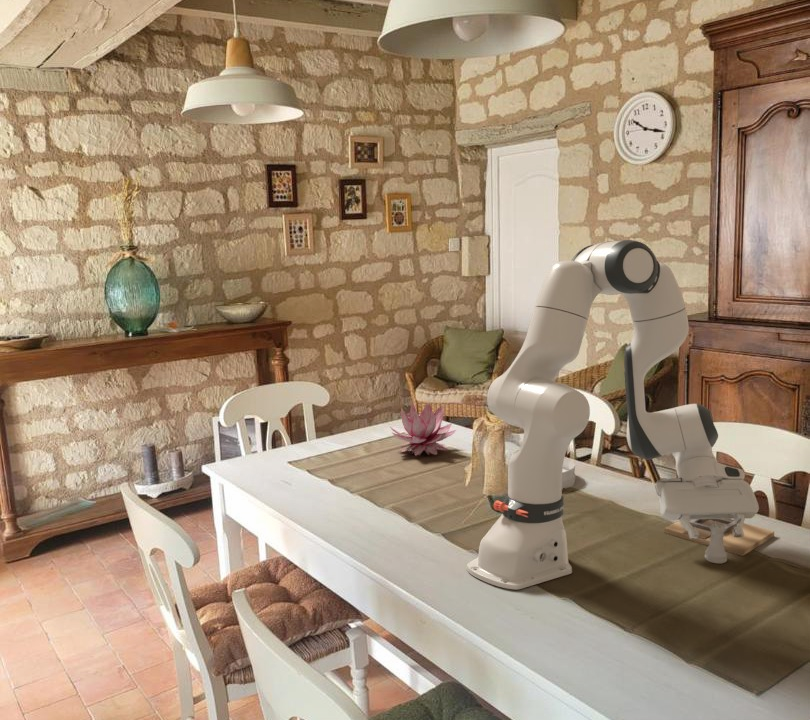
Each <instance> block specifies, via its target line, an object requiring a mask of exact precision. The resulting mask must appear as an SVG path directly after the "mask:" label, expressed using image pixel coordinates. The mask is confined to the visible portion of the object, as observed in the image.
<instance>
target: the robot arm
mask: <svg viewBox="0 0 810 720" xmlns="http://www.w3.org/2000/svg"><path fill="white" fill-rule="evenodd" d="M598 295H607V296H616V295H622V296H623V298H624V299H625V300H626V302H627V304H628V306H629V311H630V316H631V320H632V325H633V332H632V333H633V334H632V338H631V341H630V342H629V343H628V344H627V345H626V346H625V348H624V354H623V360H624V361H623V365H624V372H623V373H624V387H625V402H626V409H627V410H626V411H627V423H626V441H627V444H628V447H629V449H630V451H631V452H632V454H633V455H635V456H636V457H638V458H641V459H642V460H645V461H650V460H653V459H657V458H661V457H663V456H666V455H671V454H672V455H673V457H674V460H675V469H676V474H677V477H669V478H666V477H662V478H660V479H659V480H656V482H655V483H654V484H655V485H654V488H655V492H656V494H657V496H658V499H659V502H658V503H659V504H658V505H659V510H660V515H661V516H662V518H663V519H664V520H666V521H672V520H673V521H674V520H675V521H680V524H681V525H682V526H683V527H684V528H685V529H686V530H687V531H688V534H689V537H690V538H698V537H699V533H698V529H697V528H693V526H692V525H691V524H690V523H689V522H688V521H689V520H691V519H733V520H734V521H735V523H737V522H738V524H737V527H735V528H734V529H733V530H732V532H733V534H734V537H743V536H744V532H743V529H742V527H743V523H745V519H752V518H754V517H755V516H756V514H757V513H758V512H759V509H760V507H759V506H760V505H759V503H758V499H757V498H756V495H755V492H754V490H753V488H752V487H751V485H750V484H749V482H747V481H746V480H744V479H745V476H746V475H745V471H744V470H743V469H740V468H738V467H733V466H729V465H726V464H724V463H720V462H718V460H717V458H716V456H715V455H714V453H713V447H714V446H715V444H716V442H717V440H718V438H719V433H718V430H717V428H716V425H715V423H714V420H713V415H712V411H711V410H710V409H708V408H707V407H706V406H704V405H702V404H700V403H689V404H684V405H679V406H676V407H675V406H674V407H671V408H668V409H667V408H666V409H663V410H659V411H653V412H649V411H647V410H646V399H645V395H646V394H645V384H644V381H645V377H646V376H647V374H648V372H649V371H650V370H651V369H652V368H653V367H654V366H655V365H657V364H658V363H660V362H661V361H663V360H664V359H666V358H668V357H669V356H671V355H672V354H673V353H675V352H676V351H677V350H678V349H679V348H680V347H682V345H683V344H684V342H685V341H686V339H687V337H688V336H689V335H688V334H689V330H690V325H689V319H688V313H687V309H686V304H685V301H684V298H683V294H682V292H681V289H680V286H679V284H678V282H677V279H676V276H675V275H674V273H673V271H672V269H671V268H670V266H669V265H667V264H665V263H663V262H659V261H658V260H657V256H656V255H655V254H654V252H653V251H652V249H651V248H649V246H647V244H646V243H644V242H641V241H638V240H632V239H624V240H617V241H612V240H607V241H602V242H599V243H596V244H591V245H587V246H586V247H583V248H582V249H580V250H579V251H578V252H577V253H576V254H575V255H574V256H573V258H572V259H571V260H570V259H568V260H561V261H558V262H556V263H554V264H553V265H552V266H551V267H550V268H549V270H548V272H547V274H546V276H545V278H544V281H543V283H542V285H541V288H540V290H539V293H538V296H537V299H536V302H535V304H534V305H535V306H534V309H533V313H532V317H531V319H530V323H529V326H528V329H527V332H526V336H525V338H524V341H523V344H522V345H521V348H520V350H519V352H518V353H517V355H516V357H515V358H514V360H513V361H512V363H511V364H510V366H509V367H508V368H507V369H506V371H504V372H503V373H502V374H501V375H500V376H497V377H496V378H495V379H494V380H493V381H492V382H491V384H490V385H489V387H488V390H487V396H486V403H487V406H488V409H489V410H490V411H491V413H492V414H493V415H494V416H495V417H497V418H498V419H500V420H501V421H503V422H504V423H506V424H508V425H510V426H514V427H517V428H521V429H523V438H522V443H521V445H520V448H519V449H518V450H516V451H514V452H513V453H512V454H510V455H511V457H510V458H509V462H508V486H507V493H506V494H505V498H504V501H503V502H502V501H500V500H498V499H496V500H495V501H494V503H493V505H492V507H493V509H494V510H495V511H498V512H501V515H500V516H499V518H497V520H496V521H495V522H494V524H493V525H492V526H491V528H489V530H488V532H487V533H486V534H485V535H484V536H483V538H482V539H481V540H480V543H479V547H478V555H477V557H476V558H474V559H473V560H471V561H469V562H467V564H466V570H467V572H468V573H469V574H470V575H471V576H473V577H475V578H476V579H479V580H481V581H482V582H485V583H487V584H489V585H493V586H496V587H499V588H503V589H508V590H515V591H516V590H522V589H525V588H527V587H532V586H534V585H538V584H541V583H544V582H548V581H551V580H554V579H557V578H561V577H564V576H565V577H566V576H568V575H570V574H572V573H573V567H572V565H571V564H570V562H569V555H568V554H569V553H568V541H567V532H566V528H565V526H564V523H563V517H562V516H564V511H565V510H564V509H565V503H564V496H563V494H562V491H563V489H562V472H563V462H564V458H566V453H567V451H568V449H569V447H570V445H571V443H572V441H573V440H574V439H575V438H577V437H578V436H579V435H580V434H582V433H583V431H584V430H585V429H586V427H587V426H588V424H589V421H590V415H591V409H590V404H589V401H588V399H587V397H586V395H584V394H583V393H582V392H580V391H579V390H577V389H575V388H573V387H572V386H570V385H568V384H566V383H562V382H557V381H555V379H556V378H557V376H558V374H559V373H560V372H561V370H562V369H563V368H564V367H566V365H568V364H569V363H571V362H573V361H574V360H576V359H577V357H578V356H579V354H580V350H581V347H582V346H581V345H582V343H583V339H584V336H585V333H586V332H585V331H586V328H587V325H588V321H589V317H590V313H591V308H592V305H593V302H594V301H595V300H596V298H597V296H598Z"/></svg>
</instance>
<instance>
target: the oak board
mask: <svg viewBox="0 0 810 720" xmlns="http://www.w3.org/2000/svg"><path fill="white" fill-rule="evenodd" d="M714 521H715V524H717V522H720V523H719V524H721V523H723V524H724V527H725V528H726V530H725V531H724V532H723V534H724V537H723V545H724V549H725V552H726V553H727V552H728V553H732V554H735V555H738V556H741V557H744V556H745V555H747V554H749V553H750V552H751V551H753V550H754V549H757V547H758V548H759V546H761V545H762V544H764V543H767V542H768V541H770V540H771V539H772V538H774V537H775V530H771V529H766V528H763V527H759V526H755V525H751V524H749V523H745V522H744V523H743V527H742V529H743V532H744V536H743V537H734V534H733V532H732V530H733V529H734V528H735V527H737V524H738V522H737V523H735V521H734V519H691V520H689V521H688V522H689V523H690V524H691V525H692V526H693V528H697V529H698V533H699V537H698V538H690V537H689V534H688V531H687V530H686V529H685V528H684V527H683V526H682V525H681V524H680V520H677V521H676V522H674V523H671V524H670V525H668V526H666V527H664V532H663V533H665V534H666V535H669V536H670V535H671V536H674V537H677V538H681V539H683V540H687V541H690V542H694V543H697V544H700V545H703V546H704V545H705V546H707V547H708V546H709V544H710V539H711V535H710V533H711V530H710V528H709V526H710V525H711V522H712V523H713V522H714Z"/></svg>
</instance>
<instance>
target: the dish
mask: <svg viewBox="0 0 810 720" xmlns="http://www.w3.org/2000/svg"><path fill="white" fill-rule="evenodd" d="M575 469H576V465H575V463H574V462H573V461H572V460H571V459H569V458H567V457H564V462H563V472H562V488H565V489H568V488H571V487H572V486H574V485H575V483H576V473H575V472H576V471H575Z"/></svg>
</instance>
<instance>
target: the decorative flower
mask: <svg viewBox="0 0 810 720" xmlns="http://www.w3.org/2000/svg"><path fill="white" fill-rule="evenodd" d="M426 404H427V405H425V406H424V408H423V410H422V412H421V413H420V414H419V413H418V412H417V410H416V407H415V405H414V402H413V403H411V406H410V409H409V415H407V414H406V412H405V411H404V409H403V406H401V415H400V416H401V421H402V426H403V428H404V430H405V431H406V433H407V434H408V435H409V436H408V435H406V434H403V433H401V432H399V431H397V430H396V429H394V428H393V427H391V426H390V425H389V428H390V429H391V430H392V432H391V433H392V435H393V436H394V437H396V438H397V439H399V440H400V441H401V440H402V441H404V442H405V441H406V442H408V443H409V444H407V445H406V444H405V445H402V446H398V448H405V449H403V450H400V451H399V453H406V452H408V451H410V452H411V451H412V452H411V453H410V455H412V454H413V453H414V455H415V456H421V455H422V453H423V452H425V453H426V455H428V456H430V454H431V455H436V456H437V455H438V451H440V450H441V451H449V449H448V448H446V447H445V445H446V444H444V443H440V441H443V440H445V439H447V438H448V437H451V436H452V435H453V434H455V432H457V429H455V430H451V431H450V429H451V428H452V425H453V424H452V423H449V424H447V425H444V426H442V424H443V420H444V419H443V418H444V412H445V411H444V406H443V405H442V404H441V405H440V406H439V408H437V410H436V411H435V412H434V411H433V409H432V406H431V403H430V402H428V403H426Z"/></svg>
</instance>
